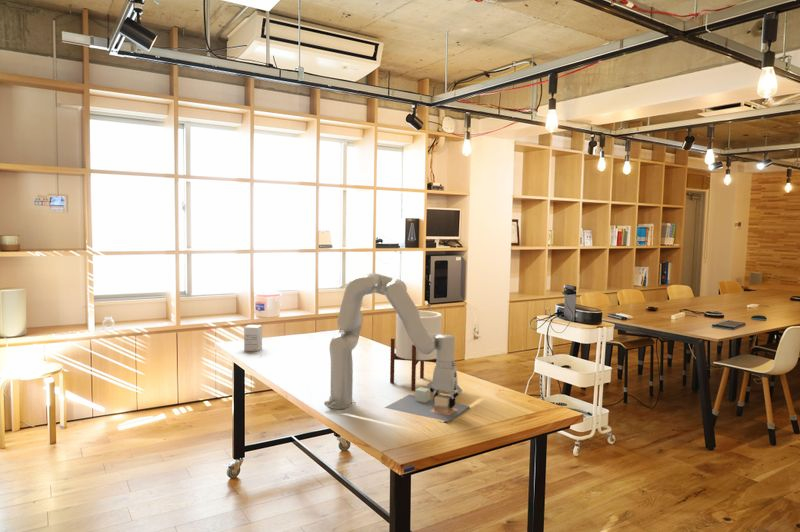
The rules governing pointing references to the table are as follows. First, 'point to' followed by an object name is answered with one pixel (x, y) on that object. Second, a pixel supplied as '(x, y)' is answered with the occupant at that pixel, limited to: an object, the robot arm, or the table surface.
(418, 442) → the table surface
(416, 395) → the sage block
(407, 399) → the board
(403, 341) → the plant pot with stand
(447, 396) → the maple block
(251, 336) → the supplement box
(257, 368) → the table surface
